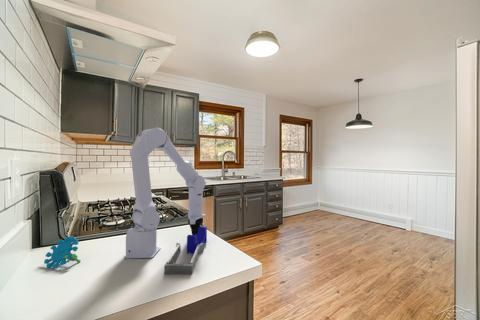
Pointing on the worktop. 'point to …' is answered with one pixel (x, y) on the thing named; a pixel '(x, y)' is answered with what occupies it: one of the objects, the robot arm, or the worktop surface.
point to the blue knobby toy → (62, 253)
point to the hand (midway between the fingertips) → (195, 236)
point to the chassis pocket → (182, 268)
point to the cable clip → (196, 239)
